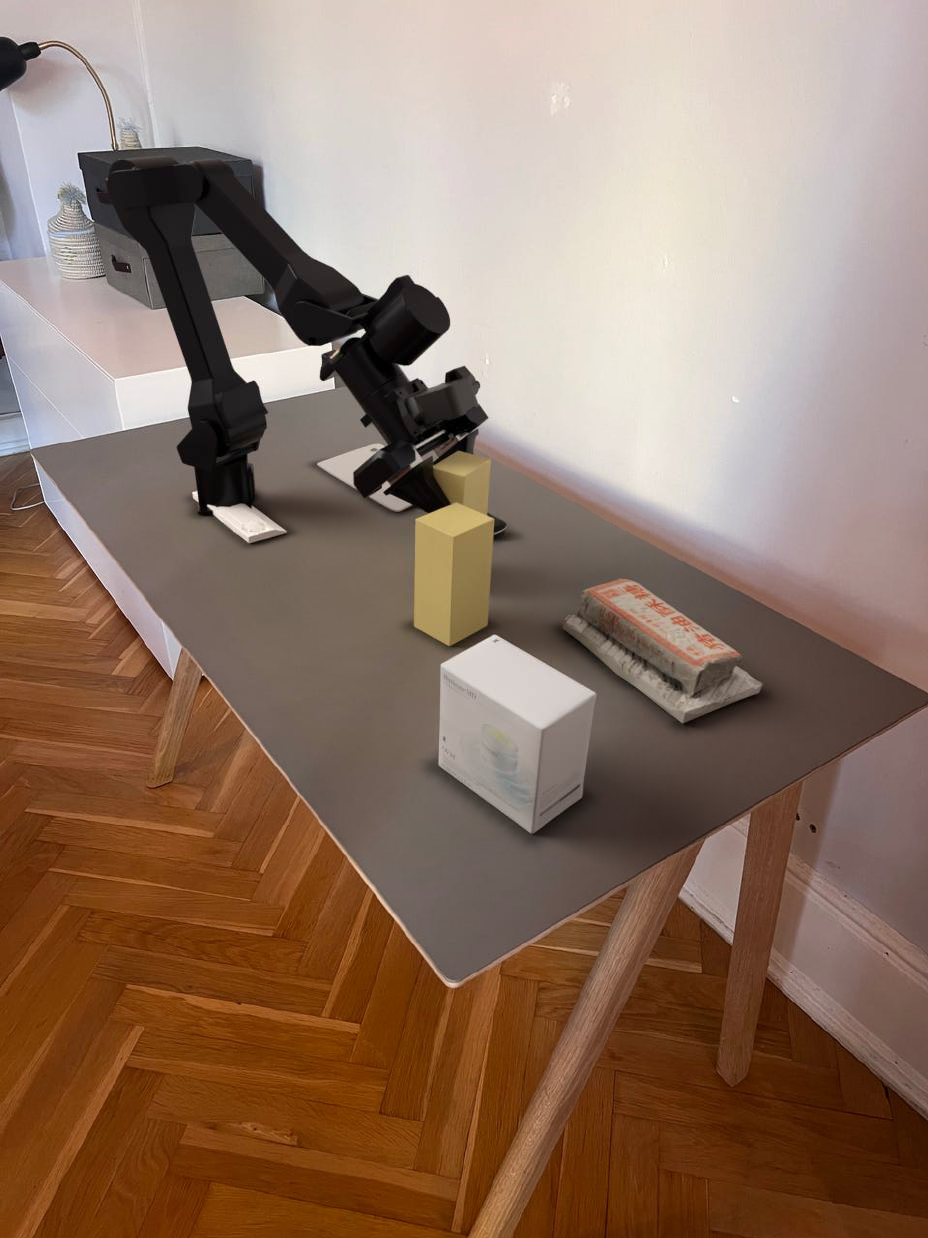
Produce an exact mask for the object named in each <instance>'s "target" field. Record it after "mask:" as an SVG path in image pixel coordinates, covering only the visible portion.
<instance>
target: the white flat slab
mask: <svg viewBox="0 0 928 1238" xmlns="http://www.w3.org/2000/svg"><path fill="white" fill-rule="evenodd" d="M192 498H193V500H195V502H197V503H198V494H197V490H196V491H192ZM207 507H209V508H210V509H211V510H212V511H213V514H212V515H213V516H214V517H215V518H217V520H219V521H220V522H221V523H222V524H223V525H225V526H226V527H227V528H228V529H230V530H231V531H232V532H233V533H234V534H236V535H237V536H239V537H240V538H242V539H243V540H244V541H246V542H247V544H252V543H255V542H258V541H262V540H266V539H270V538H272V537H276V536H280V535H283V534H287V533H288V531H287V530H286V529H284V528H283V527H281V526H280V525H279V524H277V523H276V522H275V521H273V520H272V519H271V518H269V516H267V515H265V514H264V513H263V512H262V511H260V510H258V509H257V508H256V507H255V506H254V505H252V508H249V507H248V506H247V505H245V504H237V505H233V506H231V507H215V506H211V505H207Z"/></svg>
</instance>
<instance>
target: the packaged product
mask: <svg viewBox="0 0 928 1238" xmlns="http://www.w3.org/2000/svg"><path fill="white" fill-rule="evenodd" d="M579 600H580V603H579V605H578V609H577V612H576V613H574V614H567V615H566V617H565V618H564V620H563V625H562V629H563V630H564V631H565V632H567V633H568V634H569V635H571V636H572V637H573V638H574V639H576V640H577V641H578V642H580V643H581V644H582V645H583V646H584V647H585V648H587V649H588V650H589V651H590V652H591V653H592V654H593V655H594V656H595V657H597V658H598V659H599V660H601V662H602V663H604V664H605V666H607V667H608V668H609V669H610V670H611V671H612V672H613V673H614V674H615V675H617V676H618V677H620V678H621V679H623V680H624V681H626V682H627V683H628V684H631V685H632V686H633V687H635V688H636V689H638V690H639V691H640V692H641V693H643V694H644V695H645V696H647V697H648V698H649V699H650V700H651V701H652V702H654V703H655V704H657V705H658V706H659V707H661V709H663V710H664V711H665V712H667V713H668V714H669V715H670V716H672V717H673V718H675V720H677V721H679V723H681V724H685V723H687V722H690V721H692V720H695V719H696V718H699V717H701V716H704V715H707V714H709V713H711V712H713V711H716V710H718V709H720V708H723V707H726V706H728V705H730V704H734V703H735V702H738V701H741V700H743V699H746V698H748V697H752V696H754V695H758V694H759V693H760V691H761V689H762V687H763V684H764V683H763V682H761V681H759V680H757V679H756V678H754V677H752V676H751V675H750V674H749V672H747V671H746V670H744V669H742V668H741V667H738V666H739V664H740V663H741V662H742V661H743V656H742V654H740V653H739V652H738V651H737V650H735V649H734V648H732V647H731V646H730V645H728V644H726V643H725V642H724V641H722V640H721V639H720V638H719V637H716V636H715V635H713V634H712V633H711V632H710V631H708V630H706V629H705V628H703V626H701V625H699V624H698V623H696V622H694V620H692V619H691V618H689V617H687V616H686V615H685V614H683V613H681V612H680V611H678V610H676V608H675V607H673V606H671V605H670V604H668V603H667V602H665V601H664V600H663V599H662V598H659V597H658V596H657V595H655V594H654V593H652V592H651V591H650V590H648V589H647V588H645V587H644V586H643V585H642V584H640V583H639V582H636V581H634V580H632V579H625V578H618V579H616V580H612V581H610V582H606V583H601V584H597V585H595V586H592V587H590V588H586V589H584V590H582V591H581V595H580V597H579Z"/></svg>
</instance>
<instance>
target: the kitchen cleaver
mask: <svg viewBox="0 0 928 1238" xmlns="http://www.w3.org/2000/svg"><path fill="white" fill-rule="evenodd" d="M385 446H386V445H384V444H382V443H371V444H369V445H366V446H363V447H360V448H356V449H352V450H350V451H347V452H344V453H342V454H339V455H336V456H334V457H333V456H332V457H330V458H328V459H324V460H322V461H321V460H320V461H319V462H317V467H319V468H320V469H321V470H323V471H325V472H327V473H328V474H330V475H331V476H333V477H335V478H336V479H338V480H340V481H341V482H342V483H345V484H346V485H348V486H349V487H351V488H353V489H354V490H356V491H358V490H357V488H356V487H355V486H354V484H353V472H354V471H355V470H356V469H358V468H359V467H360V466H361V465H362V464H363V463H364V462H366V461H367V460H368V459H369V458H370V457H371V456H373V455H374V454H375V453H376V452H377V451H378V450H380V449H382V448H383V447H385ZM390 486H391V485H390V484H389V483H388V481H386V482H385V483H384V484H383V485H382V488H381V489H380V490H379V491H377V492H376V493H374V494H372V495H371V496H369V497H368V498H369V499H371V500H373V501H374V502H376V503H377V504H379V505H381V506H383V507H384V508H386V509H388V510H390V511H392V512H396V513H398V512H399V513H400V512H402V511H404V510H406V509H408V508H410V507H412V506H413V505H412V504H410V503H408V502H406V501H403V500H401V499H399V498H397V497H395V496H393V495H390V494H389V495H387V496H386V495H385V494H384V493H383V492H384V491H385V490H386V489H387V488H389V487H390ZM487 516H489V517H491V518H493V519H494V533H493V539H498V538H500V537H502V536H503V535H504V533H505V532H506V530H507V528H508V525H507V522H506V521H504V520H502V519H501V518H498V517H496V516H494V515H492V514H491V513H489V512H487Z"/></svg>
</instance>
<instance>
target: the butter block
mask: <svg viewBox="0 0 928 1238" xmlns="http://www.w3.org/2000/svg"><path fill="white" fill-rule="evenodd" d="M414 527H415V529H414V530H415V531H414V532H415V533H414V536H415V537H414V544H415V545H414V594H413V595H414V596H413V597H414V602H413V627H414V628H416V629H417V630H420V631H421V632H423V633H425V634H426V635H428V636H430V637H431V638H433V639H435V640H437V641H438V642H441V643H443V644H444V645H446V646H448V647H452V646H453V645H455V644H456V643H458V642H460V641H462V640H464V639H466V638H468V637H469V636H471V635H473V634H475V633H477V632H479V631H481V630H482V629H484V628H487V627H488V625H489V624H488V623H489V611H490V609H489V608H490V595H491V593H490V592H491V579H492V565H493V564H492V561H493V547H494V538H493V533H494V519H493V518H491V517H489V516H487V515H484V514H482V513H480V512H477V511H475V510H473V509H471V508H468V507H466V506H464V505H461V504H459V503H457V502H456V503H454V504H451V505H449V506H446V507H444V508H441V509H439V510H436V511H434V512H432V513H427V514H424V515H422V516H420V517H417V518H415V526H414Z"/></svg>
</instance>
